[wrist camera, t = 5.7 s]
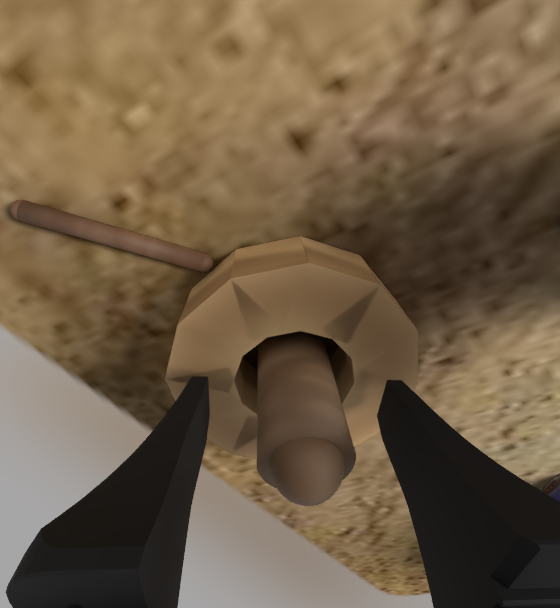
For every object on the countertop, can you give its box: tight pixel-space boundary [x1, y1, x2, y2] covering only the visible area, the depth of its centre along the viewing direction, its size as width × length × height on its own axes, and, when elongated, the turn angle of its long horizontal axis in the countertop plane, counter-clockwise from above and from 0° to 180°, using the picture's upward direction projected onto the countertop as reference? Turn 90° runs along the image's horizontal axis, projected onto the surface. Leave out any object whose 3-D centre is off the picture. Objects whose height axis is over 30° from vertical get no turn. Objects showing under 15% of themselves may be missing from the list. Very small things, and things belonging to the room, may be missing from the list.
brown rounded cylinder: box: [257, 331, 356, 506], centre depth 14 cm, size 3×3×8 cm
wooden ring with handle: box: [10, 200, 419, 459], centre depth 15 cm, size 18×10×3 cm, turn 71°
